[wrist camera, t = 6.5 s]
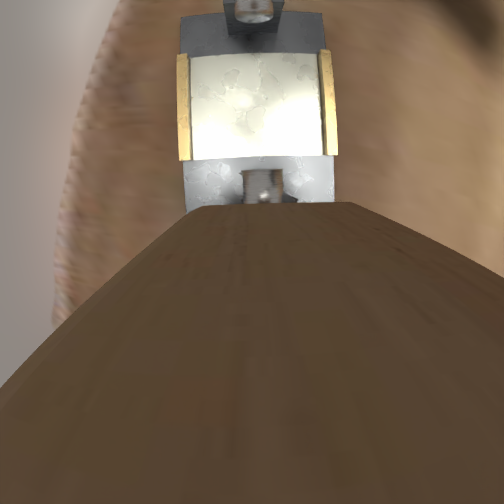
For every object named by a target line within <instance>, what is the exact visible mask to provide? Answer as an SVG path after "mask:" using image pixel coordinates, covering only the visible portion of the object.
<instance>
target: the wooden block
mask: <svg viewBox="0 0 504 504" xmlns="http://www.w3.org/2000/svg"><path fill="white" fill-rule="evenodd" d="M0 504H504V278H503V277H501V276H499V275H498V274H496V273H494V272H492V271H491V270H489V269H487V268H485V267H484V266H482V265H480V264H478V263H476V262H474V261H473V260H471V259H469V258H467V257H465V256H463V255H461V254H460V253H458V252H456V251H454V250H452V249H450V248H448V247H446V246H444V245H442V244H440V243H438V242H436V241H434V240H432V239H430V238H428V237H426V236H424V235H422V234H420V233H418V232H416V231H414V230H412V229H410V228H408V227H406V226H403V225H401V224H399V223H397V222H395V221H393V220H391V219H388V218H386V217H384V216H382V215H379V214H377V213H375V212H373V211H370V210H368V209H366V208H364V207H361V206H359V205H357V204H354V203H352V202H297V203H256V204H229V205H208V206H201V207H199V208H197V209H195V210H193V211H191V212H189V213H188V214H187V215H185V216H184V217H183V218H182V219H180V220H179V221H178V222H177V223H175V224H174V225H173V226H172V227H171V228H169V229H168V230H167V231H166V232H164V233H163V234H162V235H161V236H160V237H158V238H157V239H156V240H155V241H154V242H152V243H151V244H150V245H149V246H148V247H147V248H145V249H144V250H143V251H142V252H141V253H139V254H138V255H137V256H136V257H135V258H134V259H132V260H131V261H130V262H129V263H128V264H127V265H126V266H124V267H123V268H122V269H121V270H120V271H119V272H118V273H116V274H115V275H114V276H113V277H112V278H111V279H110V280H109V281H108V282H106V283H105V284H104V285H103V286H102V287H101V288H100V289H99V290H98V291H96V292H95V293H94V294H93V295H92V296H91V297H90V298H89V299H88V300H87V301H86V302H85V303H84V304H82V305H81V306H80V307H79V308H78V309H77V310H76V311H75V312H74V313H73V314H72V315H71V316H70V317H69V318H68V319H67V320H66V321H65V322H64V323H63V324H62V325H60V326H59V327H58V328H57V329H56V330H55V331H54V332H53V333H52V335H50V336H49V337H48V338H47V339H46V340H45V341H44V342H43V343H42V344H41V345H40V346H39V347H38V348H37V349H36V351H35V352H34V353H33V354H32V355H31V356H30V357H29V358H28V359H27V360H26V361H25V362H24V363H23V364H22V365H21V366H20V367H19V368H18V369H17V370H16V371H15V373H14V374H13V375H12V376H11V377H10V378H9V379H8V380H7V382H5V384H4V385H3V386H2V387H1V388H0Z"/></svg>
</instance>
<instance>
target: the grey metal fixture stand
mask: <svg viewBox="0 0 504 504" xmlns="http://www.w3.org/2000/svg"><path fill="white" fill-rule="evenodd" d="M223 5H224V11H225V13H214V14H204V15H195V16H188V17H181V33H180V54H178V55H177V116H178V144H179V161H183V173H184V189H185V203H186V215H187V214H188V213H189V212H191V211H193V210H195V209H197V208H199V207H201V206H208V205H229V204H256V203H297V202H334V157H333V155H338V146H337V124H336V108H335V94H334V82H333V71H332V61H331V51H330V50H326V45H325V36H324V28H323V21H322V13H310V12H292V11H282V9H283V5H284V0H223Z"/></svg>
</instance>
